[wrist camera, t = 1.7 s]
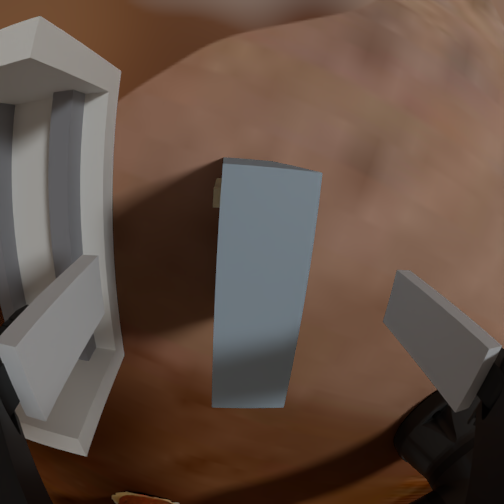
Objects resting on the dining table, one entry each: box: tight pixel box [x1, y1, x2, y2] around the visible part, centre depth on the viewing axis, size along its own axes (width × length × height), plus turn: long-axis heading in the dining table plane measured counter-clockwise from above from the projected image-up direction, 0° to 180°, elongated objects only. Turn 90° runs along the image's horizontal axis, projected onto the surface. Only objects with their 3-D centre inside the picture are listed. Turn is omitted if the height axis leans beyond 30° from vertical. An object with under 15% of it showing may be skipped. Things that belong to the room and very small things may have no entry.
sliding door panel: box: [212, 158, 322, 408], centre depth 18 cm, size 11×4×12 cm, turn 175°
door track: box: [0, 16, 124, 457], centre depth 16 cm, size 24×12×12 cm, turn 175°
